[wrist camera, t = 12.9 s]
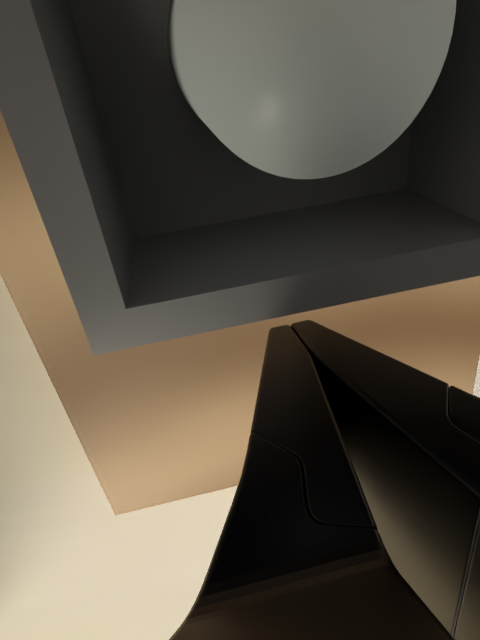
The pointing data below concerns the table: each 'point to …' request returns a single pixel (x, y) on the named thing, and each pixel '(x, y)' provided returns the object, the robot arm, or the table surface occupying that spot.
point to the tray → (244, 153)
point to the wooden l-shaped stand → (195, 364)
